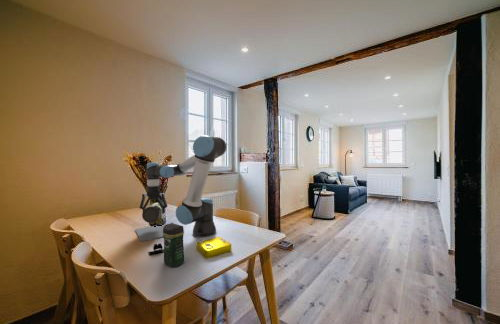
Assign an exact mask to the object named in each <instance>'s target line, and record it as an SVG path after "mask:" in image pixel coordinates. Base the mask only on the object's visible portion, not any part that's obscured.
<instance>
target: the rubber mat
mask: <svg viewBox="0 0 500 324" xmlns="http://www.w3.org/2000/svg"><path fill="white" fill-rule="evenodd" d="M163 224H164V225H162V224H161V225H162V226H157V225H152V226H146V227H140V228H139V227H138V228H135V229H134V230H135V231H134V232H135V233H136V234H137V236H138V239H139V240H140V242H141V243H143V242H146V241H147V242H148V241H152V240H157V239H161V238H162V239H164V236H163V227H164V226H165V225H166V224H167V223H163ZM154 226H156V227H154Z"/></svg>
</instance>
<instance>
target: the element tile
mask: <svg viewBox="0 0 500 324" xmlns="http://www.w3.org/2000/svg"><path fill="white" fill-rule="evenodd" d="M195 246H196V251H197V252H198V253H199V254H200V255H201V256H202V257H203V258H205V259H212V258H215V257H219V256H222V255H225V254H228V253H229V254H230V253H231V252H232V243H231V242H229V241H228V240H226V239H224V238H223V237H221V236H216V237H212V238H208V239H207V238H206V239H203V240H201V241H199V240H198V241H197V242H196V243H195Z"/></svg>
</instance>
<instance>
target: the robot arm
mask: <svg viewBox="0 0 500 324" xmlns="http://www.w3.org/2000/svg"><path fill="white" fill-rule="evenodd" d="M227 149H228V148H227V143H226V141H225V140H224V139H223V138H221V137H220V136H219V137H216V136H212V135H211V136H210V135H200V136H198V137H196V139H195V140H194V141H193V144H192V150H193V154H194V155H191V156H189V157H188V158H186V159H185V160H183V161H181V162H179V163H178V164H177V163H176V164H171V165H170V164H169V165H168V164H167V165H160V162H157V161H156V162H155V161H154V162H148V163H147V164H146V185H147V187H146V188H147V189H146V193H142V194H141V201H140V205H139V209H140V210H142V212H143V211H144V209H146V208H147V206H148V205H149V203H150V201H151V200H156V201H157V203H159V204H160V206H161V207H162V209H161V216H160V219H162V220H163V219H164V214H165V212H166V210H165V209H167V208H168V203H167V199H166V197H165V192H163V193H160V178H166V179H167V178H171V177H179V176H184V175H187V173H188V172H189V171H191V170H193V171H192V175H191V178H190V182H189V185H188V189H187V190H188V191H187V193H186V197H184V198H183V199H182V202H181V204H180V205H178V206H177V207H176V209H175V217H176V219H177V221H178V222H179V223H180V224H181V225H191V224H192V223H194V225H193V229H192V235H193V236H195V237H197V238H205V237H209V236H213V235H215V234H217V228H216V225H215V222H214V203H213V202H214V201H213V199H212V198H209V197H203V192H204V190H205V186H206V183H207V179H208V176H209V172H210V169H211V165H212V164H214V163H215V161H216V159H217V158H220V157H222V156H223V155H224V154H225V153H226V152H227ZM146 197H148V198H147V199H146ZM160 197H161V198H160ZM163 213H164V214H163Z"/></svg>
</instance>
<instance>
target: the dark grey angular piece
mask: <svg viewBox="0 0 500 324" xmlns="http://www.w3.org/2000/svg"><path fill="white" fill-rule="evenodd" d="M152 249H153V250H151V251H148V252H147V254H148V256H149V257H151V256H156V255H161V254H164V246H163V244H162V243H161V242H159V243H155V244H153V247H152Z"/></svg>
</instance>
